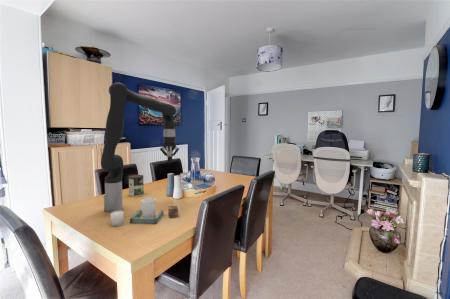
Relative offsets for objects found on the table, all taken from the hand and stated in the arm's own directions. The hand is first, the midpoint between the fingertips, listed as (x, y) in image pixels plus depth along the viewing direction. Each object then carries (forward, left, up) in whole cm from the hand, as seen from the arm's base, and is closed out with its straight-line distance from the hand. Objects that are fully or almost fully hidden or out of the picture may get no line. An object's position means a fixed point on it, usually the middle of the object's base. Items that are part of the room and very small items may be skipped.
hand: (170, 162), depth 147 cm
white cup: (-5, -27, -27) cm, 39 cm away
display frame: (-5, -28, -27) cm, 39 cm away
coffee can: (-29, +14, -27) cm, 42 cm away
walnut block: (+8, -24, -27) cm, 37 cm away
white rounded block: (-18, -36, -27) cm, 48 cm away
